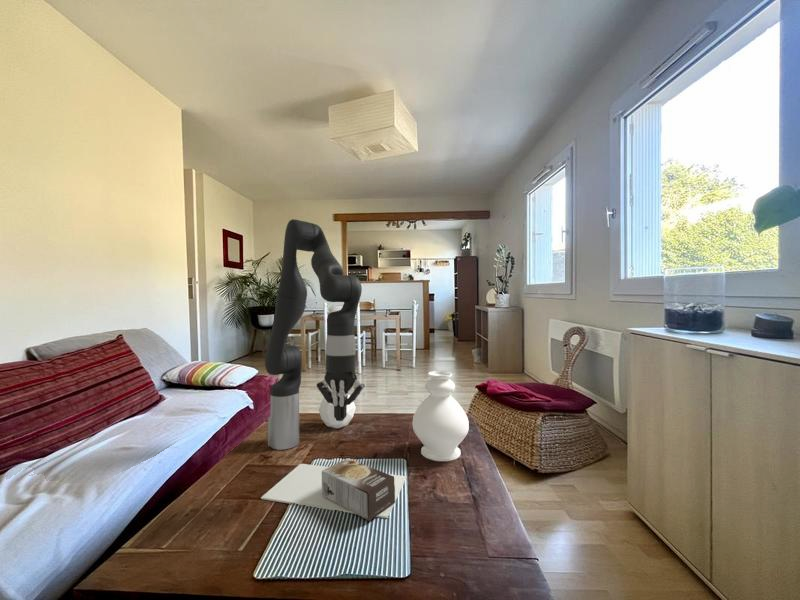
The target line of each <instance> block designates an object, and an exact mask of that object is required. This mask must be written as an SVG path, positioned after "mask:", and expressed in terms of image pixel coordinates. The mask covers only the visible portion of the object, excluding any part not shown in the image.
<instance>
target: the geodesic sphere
mask: <svg viewBox="0 0 800 600" xmlns="http://www.w3.org/2000/svg"><path fill="white" fill-rule="evenodd" d="M350 395H351V394H349V395H348V398H349V397H350ZM354 401H355V400H354ZM354 401H353V402H352V403H351V404H349V405H347V411H346V412H347V414H346V417H345V418H344V420H342V421H336V418H335V417H334V405H333V404H331V403H328V402H327V401H326V399H325V398H324V397H323V398H322V399H321V402H320V405H319V407H318V412H319V416H320V418H321V421H322V422H324V424H325V425H326V426H327V427H329V428H333V429H341V428H344V427H346V426H348V425H349V424H350V422H351V421H352V420H353V417H354V415H355V412H356V409H357V406H356V405H355V402H354Z"/></svg>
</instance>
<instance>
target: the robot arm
mask: <svg viewBox="0 0 800 600" xmlns="http://www.w3.org/2000/svg"><path fill="white" fill-rule="evenodd" d="M284 232H285V233H284V240H283V241H284V242H283V254H282V265H281V273H280V279H279V283H278V289H277V294H276V295H277V296H276V300H275V301H276V302H275V310H274V317H273V323H272V326H271V327H272V328H271V332H270V336H269V340H268V344H267V347H266V351H265V355H264V356H265V357H264V368H265V370H266V372H267V373H268V374H269V375H270V376H278V375H279V376H280V375H282V376H281V378H280V379H279V380H277V381H276V382H275V383H274V384H272V385H271V386H270V391H269V392H270V416H269V417H267V447H270V448H272V449H273V450H278V451H279V450H280V451H281V450H283V451H284V450H288V449H292V448H295V447H297V446H298V445H299V443H300V387H301V384H302V371H303V370H302V369H303V366H302V365H303V359H302V357H303V356H302V351H301V349H300V348H299V346H297V345H294V344H293V345H292V344H291V345H286V343H287V339H288V337H289V335H290V333H291V331H292V330H293V328H294V327H295V326H296V325H297V323H298V322H299V320H300V319H301V318H302V316H303V315H304V313H305V308H306V304H307V303H306V302H307V298H308V288H307V286H306V283H305V281H304V279H303V277H302V274H301V273H300V269H299V267H298V262H297V254H298V253H297V251H301V252H302V251H303V252H309V253H310V252H311V253H312V252H313V254H312V256H311V260H310V264H311V268H312V270H313V272H314V273H315V275H316V277H317V279H318V282H319V291H320V293H319V294H320V296H321V298H322V299H323V300H325V301H326V302H329V303H343V305H342V307H341V309H338V310H336V311H331V312H330V313H328V314H327V316H326V340H325V371H326V372H325V375H324V378H323V380H322V381H321V380H320V381H319V382H317V383H316V388H317V389H318V390H319V392H320V394H321V395H322V397H323V398H325V399H326V401H327V402H328V403H331V404H333V405H334V417H335V418H336V421H342V420H344V418H345V417H346V414H347V412H346V411H347V405H349V404H351V403H352V402H353V401H355V400H356V399H357V398H358V396H359V395H360V394H361V392H362V391H363V390H364V388H365V384H364V383H361V382H360V381H359V380H358V377H357V375H356V353H357V352H356V351H357V348H356V337H355V333H356V332H355V328H356V327H355V319H356V315H357V310H358V307H359V303H360V299H361V297H362V292H363V291H362V290H363V289H362V288H363V287H362V283H361V281H360V279H359V278H358V277H357V276H355V275H349V274H344V270H343V267H342V265H341V263H339V261H338V260H337V259H336V257H335V255H334V254H333V252H332V251H331V248H330V245H329V243H328V240H327V237H326V235H325V233H324V230H323V228H322V227H320V225H318V224H316V223H313V222H308V221H303V220H299V219H295V218H294V219H293V218H292V219H290V220H289V221H288V223H287V225H286V228H285V231H284ZM352 388H353V392H352V393H351V394H350V390H351V389H352ZM348 395H350V397H349V398H348Z"/></svg>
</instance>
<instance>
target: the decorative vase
mask: <svg viewBox="0 0 800 600" xmlns="http://www.w3.org/2000/svg"><path fill="white" fill-rule="evenodd" d="M452 376H453V373H452V372H451V371H446V370H444V371H443V370H435V371H429V372H428V373H427V377H429V379H428V380H427V381H426V382H425V384H424V388H425V390H426V391H427V392H428V393H429V395H428V396H427V397H426V398H425V399H424V400H423V401H421V403H420V404H419V406H417V408H416V410H415V412H414V413H413V418H412V430H413V432H414V434H415V436H416V437H417V438H418V440H419V441H420V442H421V443H422V444H423V446H422V447H421V448H420V454H421V455H422V456H423V457H424V458H426V459H428V460H431V461H435V462H450V461H454V460H457V459H458V458H460V457H461V455H462V452H461V451H462V450H461V449H460V448H459V447H458V446H459V445H460V444H461V443H462V441H464V439H465V438H466V436H467V435H468V433H469V430H470V429H469V428H470V425H469V424H470V422H469V418H468V415H467V413H466V412H465V411H466V410H464V409H463V407H462V406H461V404H460V403H459V402H458V401H457V400H456V399H455V398H454V397H453V396H452V395H451V394H452V393H453V392H455V390H456V384H455V383H454V381H453V380H452V379H450V378H452Z"/></svg>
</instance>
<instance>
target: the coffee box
mask: <svg viewBox="0 0 800 600" xmlns="http://www.w3.org/2000/svg"><path fill="white" fill-rule="evenodd" d="M328 467H329V468H327V469H325V470H323V471H322V496H324V497H326V498H328V499H330V500H332V501H333V502H335V503H337V504H339V505H341V506H343V507H344V508H346V509H348V510H350V511H352V512H354V513H356V514H355V515H357V516H359V517H361V518H363V519H365V520H367V521H369V522H370V521H371V520H373V519H374V518H376V517H375V516H377V515H378V514H380V513H381V512H383V511H384V510H386V509H387V508H388V507H390V506H391V505H393V504H394V503H396V501H395V485H394V476H391V475H392V474H391V475H389V473H385V472H384V471H381V470H378V469H377V468H374V467H371V466H368V465H366V464H365V463H364V464H363V463H361V462H359V461H356V460H354V459H351V458H349V457H347V458H346V459H343V460H342V461H340V462H338V463H336V464H333V465H331V466H328ZM394 505H395V504H394ZM354 513H353V514H354Z"/></svg>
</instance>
